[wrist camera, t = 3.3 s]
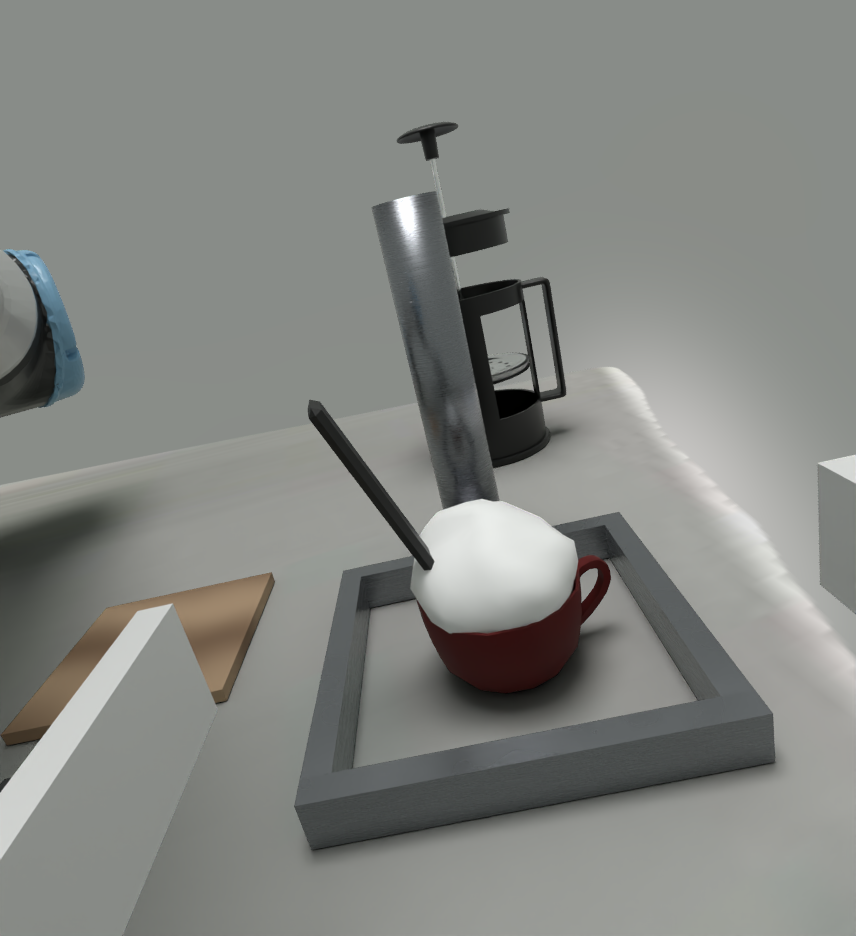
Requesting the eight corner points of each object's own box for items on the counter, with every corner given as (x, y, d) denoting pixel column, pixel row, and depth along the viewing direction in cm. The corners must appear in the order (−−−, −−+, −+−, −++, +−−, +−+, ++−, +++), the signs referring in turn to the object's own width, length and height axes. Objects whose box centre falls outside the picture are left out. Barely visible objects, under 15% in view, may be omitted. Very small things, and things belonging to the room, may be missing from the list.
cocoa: (612, 615, 27) (586, 337, 23) (631, 718, 21) (601, 370, 18) (400, 626, 29) (346, 372, 25) (365, 722, 23) (287, 412, 20)
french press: (424, 482, 46) (339, 136, 38) (424, 443, 54) (355, 155, 47) (585, 448, 45) (532, 87, 37) (558, 413, 54) (511, 116, 46)
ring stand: (360, 555, 37) (265, 236, 31) (595, 504, 36) (546, 168, 30) (311, 850, 19) (65, 231, 13) (775, 761, 18) (743, 62, 12)
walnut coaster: (110, 616, 37) (106, 607, 37) (274, 581, 36) (271, 572, 36) (6, 745, 27) (0, 735, 27) (226, 700, 27) (222, 689, 27)
